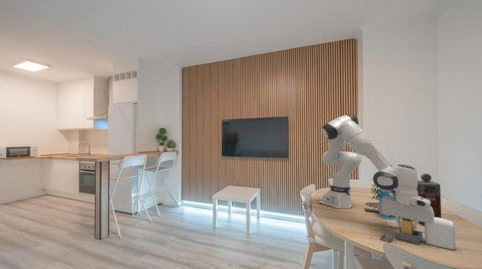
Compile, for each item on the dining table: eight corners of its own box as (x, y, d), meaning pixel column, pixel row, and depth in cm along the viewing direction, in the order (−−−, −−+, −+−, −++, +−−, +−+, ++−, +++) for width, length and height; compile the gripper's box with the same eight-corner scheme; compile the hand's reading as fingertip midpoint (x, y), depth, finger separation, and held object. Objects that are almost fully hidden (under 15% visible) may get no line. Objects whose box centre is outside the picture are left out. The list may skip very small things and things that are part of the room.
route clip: (380, 240, 105) (380, 235, 105) (383, 236, 108) (383, 232, 108) (390, 242, 102) (390, 238, 102) (393, 239, 105) (393, 235, 105)
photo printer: (424, 243, 101) (423, 216, 101) (425, 240, 104) (424, 214, 104) (456, 251, 94) (455, 222, 94) (455, 247, 97) (454, 219, 97)
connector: (401, 232, 106) (400, 218, 107) (403, 230, 109) (402, 216, 109) (411, 235, 104) (411, 220, 104) (413, 232, 106) (412, 218, 106)
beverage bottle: (379, 218, 133) (378, 185, 133) (378, 214, 140) (377, 182, 141) (396, 220, 129) (395, 186, 130) (394, 216, 137) (393, 183, 137)
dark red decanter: (425, 227, 119) (423, 175, 120) (413, 219, 130) (412, 172, 131) (444, 228, 117) (443, 175, 118) (431, 220, 128) (430, 172, 129)
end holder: (395, 238, 106) (395, 232, 106) (400, 232, 113) (399, 226, 113) (419, 245, 99) (418, 238, 99) (422, 238, 106) (422, 231, 106)
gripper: (380, 195, 112) (380, 223, 112) (433, 204, 97) (433, 235, 97) (383, 193, 117) (384, 220, 116) (434, 201, 102) (435, 231, 101)
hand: (407, 227), depth 106 cm, fingers closed on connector, 4 cm apart
